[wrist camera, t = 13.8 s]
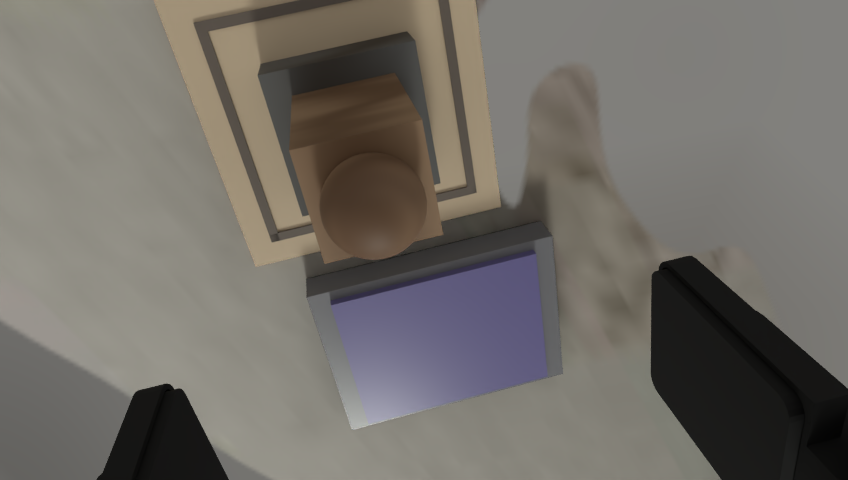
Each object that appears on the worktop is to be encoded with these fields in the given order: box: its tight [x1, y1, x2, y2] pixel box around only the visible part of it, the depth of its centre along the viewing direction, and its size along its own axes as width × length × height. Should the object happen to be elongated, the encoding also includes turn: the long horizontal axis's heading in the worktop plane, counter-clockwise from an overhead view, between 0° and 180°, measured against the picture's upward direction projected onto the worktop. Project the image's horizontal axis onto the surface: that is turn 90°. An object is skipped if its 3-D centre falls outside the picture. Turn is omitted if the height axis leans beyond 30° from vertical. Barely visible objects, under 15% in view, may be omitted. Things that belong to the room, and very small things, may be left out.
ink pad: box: [306, 221, 563, 430], centre depth 31 cm, size 12×9×2 cm
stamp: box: [257, 31, 443, 264], centre depth 21 cm, size 6×6×10 cm
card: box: [154, 0, 501, 267], centre depth 25 cm, size 12×12×1 cm
